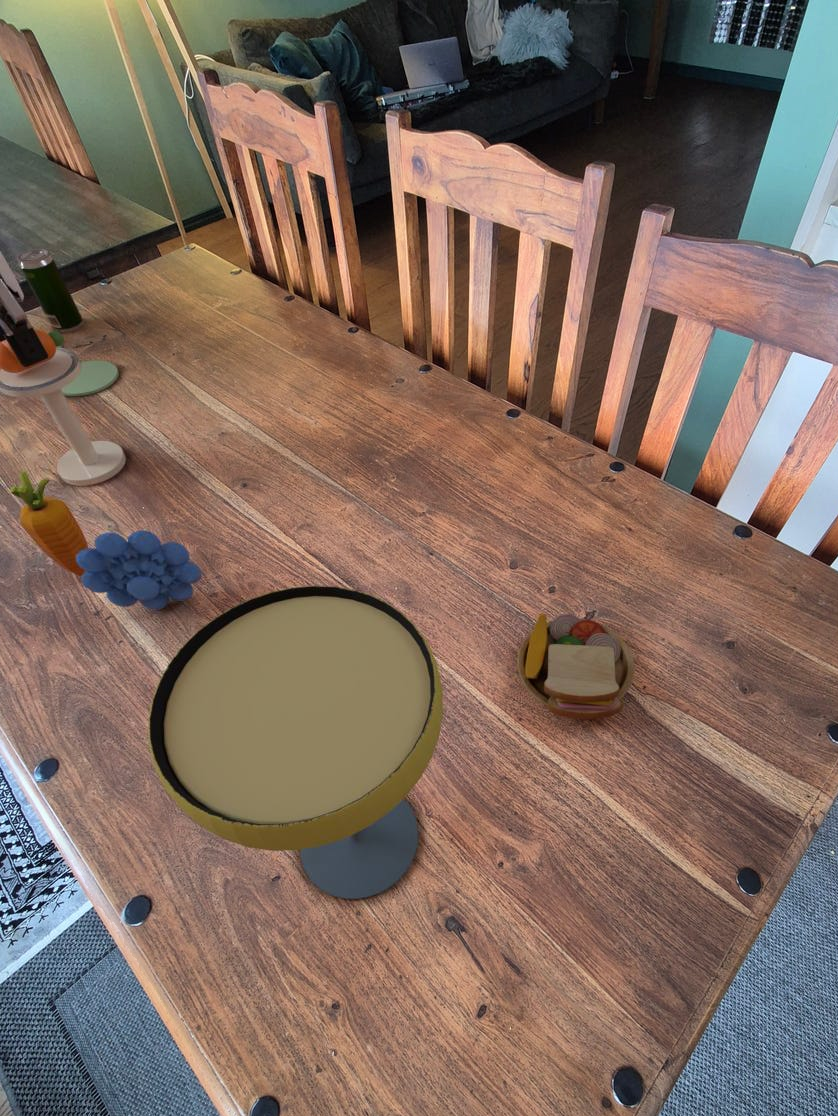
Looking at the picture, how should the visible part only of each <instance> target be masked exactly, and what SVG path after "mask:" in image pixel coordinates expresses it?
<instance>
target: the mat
mask: <svg viewBox="0 0 838 1116" xmlns="http://www.w3.org/2000/svg"><path fill="white" fill-rule="evenodd" d="M80 363H81V366H82V368H81V372H80V374H79V375H78V377H77V378H76V379H75V380H74V381H72V382H71V383H70V384H68V385H66V386H65V387H63V388H61V391H62V392H63V394H64V396H65V397H66V396H67V397H83V396H89V395H90V396H91V395H93V394H96V393H99V392H102V391H104V390H105V389H107V388H109V387H110V386H112V385H113V384H114V383H115V382H116V381H117V379H118V378H119V374H120V373H119V369H118V367H117V366H116V365H115V364H114V363H113V362H111V361H106V360H99V359H95V360H93V359H92V360H86V361H82V362H81V361H80Z"/></svg>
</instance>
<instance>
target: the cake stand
mask: <svg viewBox="0 0 838 1116" xmlns="http://www.w3.org/2000/svg"><path fill="white" fill-rule="evenodd" d="M81 368H82V366H81V361H80V359H79V357H78V355H77V354H76V353H75V352H74V351H72V350H71V349H68V348H65V347H56V353H55V355H54V357H53V358H52V359H50V360H48V361H46V362H43V363H41V364H39V365H36V366H34V367H31V368H29V369H27V370H24V371H22V372H19V373H10V372H6V371H4V370H2V369H1V368H0V392H1V393H2V394H3V395H5V396H7V397H11V398H12V397H13V398H23V399H24V398H34V397H39V396H40V398H41V400H42V402H43V403H44V405H45V407H46V409H47V410H48V412H49V414H50V415H51V417H52V418H53V420H54V422H55V424H56V425H57V426H58V429H59V431H60V432H61V433H62V435H63V437H64V438H65V440H66V441H67V443H68V445H69V447H70V450H68V451H66V452H65V453H64V454H63V455H62V456H61V457H60V458H59V460H58V461H57V463H56V472H57V474H58V475H59V477H60V478H61V480H62V481H63V482H64V483H66V484H68V485H72V486H78V487H87V486H93V485H97V484H100V483H102V482H105V481H108V480H110V479H111V478H113V477H114V476H116V475H117V474H119V473H120V472H121V470H122V469H123V468H124V467H125V464H126V460H127V457H126V454H125V452H124V450H123V448H122V447H121V446H120V445H119V444H117V443H116V442H114V441H108V440H95V441H94V440H93V441H91V439H90V438H89V436H88V433H87V432H86V431H85V430H84V427H83V426H82V424H81V422H80V420H79V418H78V417H77V415H76V413H75V411H74V410H73V408H72V406H71V405H70V403H69V401H68V400H67V398H66V395H64V394H63V392H62V391H61V388H63V387H65V386H66V385H68V384H70V383H71V382H72V381H74V380H75V379H76V378H77V377H78V375H79V374H80V372H81Z"/></svg>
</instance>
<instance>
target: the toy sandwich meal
mask: <svg viewBox="0 0 838 1116" xmlns="http://www.w3.org/2000/svg"><path fill="white" fill-rule="evenodd" d="M516 664H517V670H518V675H519V678H520V680H521V682H522V684H523V685H524V687H525V688H526V690H527V691H528V692H529V693H530V694H531V696H533V697H534V698H535V699H537V700H538V701H539V702H541V703H543V704H544V705H545V706H547V710H548V711H549V712H550V713H552V714H554V715H557V716H559V717H563V718H568V719H576V720H594V719H595V720H596V719H597V720H598V719H602V718H603V719H604V718H609V717H612V716H615V715H617V714H620V712H621V711H622V707H623V703H622V701H621V699H622V698H623V697H624V696H625V695H626V694H627V692H628V691H629V689H630V688H631V686H632V684H633V681H634V677H635V660H634V657H633V654H632V652H631V649H630V648H629V646H628V645H627V643H626V642H625V641H624V639H623V638H621V636H620V635H619V634H618V633H616V631H614V630H612V629H611V628H609V627H608V626H606V625H604V624H602V623H600V622H597V621H595V620H592V619H587V618H582V617H581V618H580V617H578V616H577V615H575V614H572V613H562V614H559V615H557V616H556V617H555V618H554V619H553V620H549V621H547V614H546V613H540V614H539V615H538V618H537V620H536V622H535V624H534V627H533V629H532V631H530V633H528V634H527V636H525V639H523V640H522V643H521V645H520V647H519V649H518V653H517V659H516Z"/></svg>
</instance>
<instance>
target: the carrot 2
mask: <svg viewBox="0 0 838 1116" xmlns="http://www.w3.org/2000/svg"><path fill="white" fill-rule="evenodd" d="M19 478H20V480H21V483H22V485H18V487H17V486H14V485H13V486H12V487H10V490H9V491H10V494H11V495H13V496H16V497H18V498H20V499H21V500H22V501H23V502H24V503H25V505H24V506H23V507H22V508H21V509H20V517H19V523H20V525H21V527H22V528H23V529H24V531H25V532H26V533H27V535H29V537H30V538H31V539H32V541H33V542H34V543H35V544H36V545H37V546H38V548H39V549H41V551H42V552H43V553H44V554H45V555H47V557H49V558H50V559H51V560H52V561H53V562H54V563H56V565H58V566H60V568H63V569H64V570H66V571H67V572H69V573H71V574H73V575H76V576H77V577H78V576H79V577H81V576H82V575H83V574H84V573H85V572H86V571H85V570H84V569H82V568H81V567H80V566H79V565H78V564H77V562H76V555H77V554H78V553H79V552H80V551H82V550H84V549H87V548H89V545H88V542H87V540H86V536H85V535H84V532H83V530H82V529H81V526H80V525H79V523H78V521H77V520H76V517H75V516H74V514H73V513H72V511H71V510H70V508H69V506H68V504H67V503H66V502H65V501H63V500H60V499H58V498H54V497H51V496H44V491H45V488H46V486H47V485H48V483H50V482H51V480H50V479H49V478H43V479H42V480H40V481H39V482H38V484H37V488H36V490H35V489H34V486H33V485H32V484H33V483H32V482H31V480H30V477H29V476H28V474H27V472H26V471H22V472H21V473H19Z"/></svg>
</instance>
